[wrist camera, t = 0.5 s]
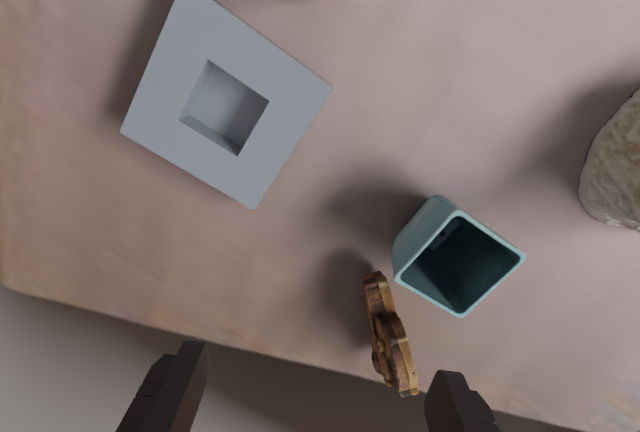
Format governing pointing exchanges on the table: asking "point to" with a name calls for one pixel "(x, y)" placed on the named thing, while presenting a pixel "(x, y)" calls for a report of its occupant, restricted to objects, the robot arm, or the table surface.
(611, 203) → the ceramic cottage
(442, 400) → the robot arm
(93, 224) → the table surface
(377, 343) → the wooden carving
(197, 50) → the holder
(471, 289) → the flower pot
